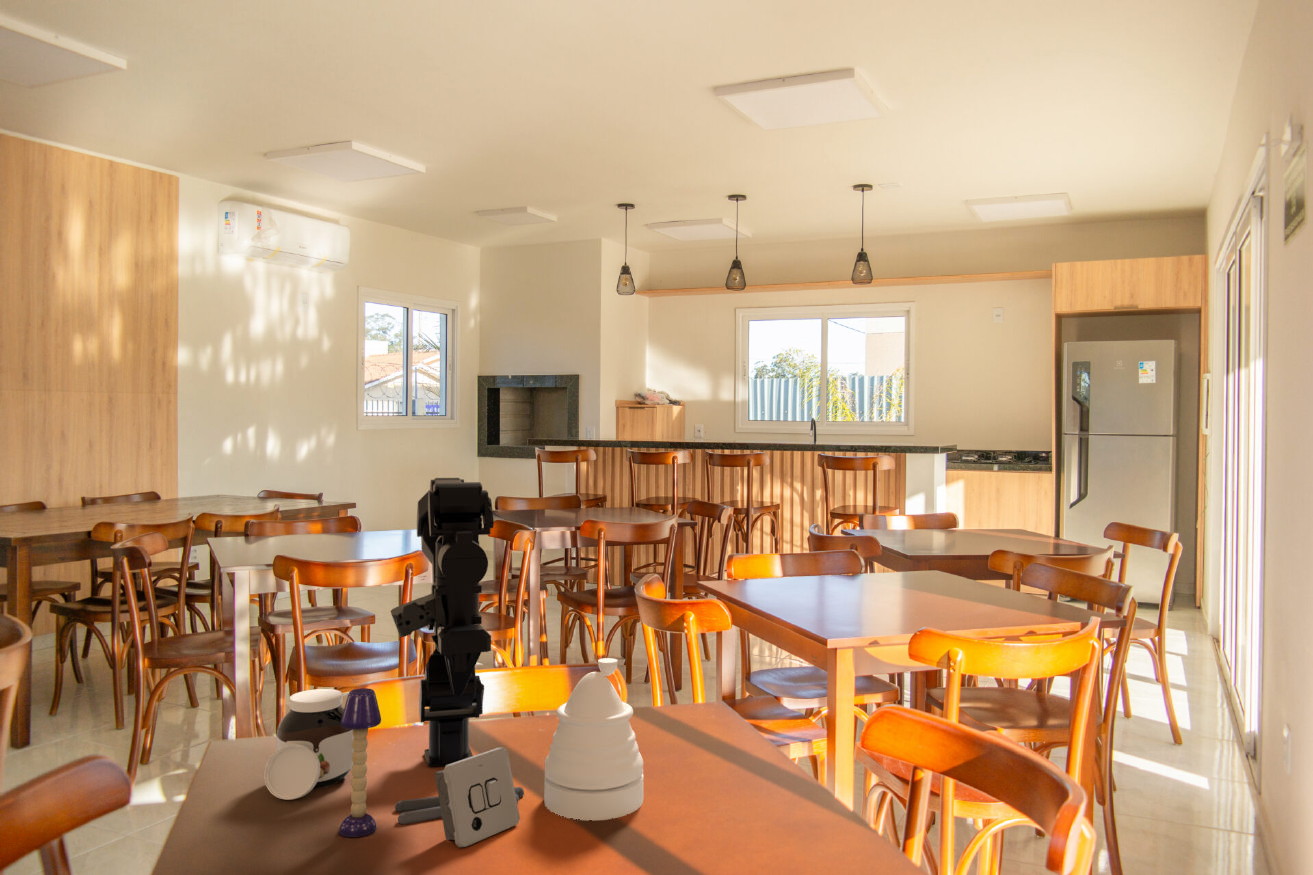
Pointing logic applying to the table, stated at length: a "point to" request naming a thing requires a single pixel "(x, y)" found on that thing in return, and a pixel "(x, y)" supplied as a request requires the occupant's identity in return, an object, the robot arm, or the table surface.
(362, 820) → the toy lamp
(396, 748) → the table surface
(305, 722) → the spread jar
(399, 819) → the cord
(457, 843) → the electrical switch
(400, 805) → the cord
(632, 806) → the honey pot
